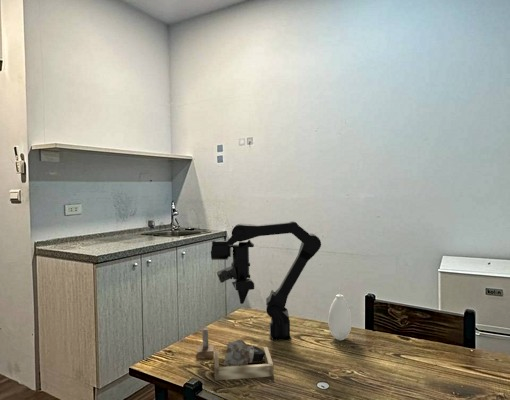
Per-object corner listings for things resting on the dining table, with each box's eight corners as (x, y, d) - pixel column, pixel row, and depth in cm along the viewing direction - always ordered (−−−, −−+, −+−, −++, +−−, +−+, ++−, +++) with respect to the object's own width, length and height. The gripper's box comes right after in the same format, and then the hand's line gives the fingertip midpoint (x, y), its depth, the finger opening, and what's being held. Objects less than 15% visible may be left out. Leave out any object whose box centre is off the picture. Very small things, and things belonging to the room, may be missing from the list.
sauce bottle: (354, 337, 126) (354, 286, 126) (347, 345, 119) (347, 292, 119) (333, 333, 130) (332, 283, 130) (325, 340, 124) (324, 288, 123)
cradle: (267, 356, 113) (267, 346, 113) (273, 376, 101) (273, 365, 101) (214, 359, 111) (214, 350, 111) (214, 380, 99) (214, 369, 99)
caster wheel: (261, 362, 114) (261, 374, 104) (226, 355, 114) (223, 365, 104) (265, 341, 115) (266, 350, 105) (230, 333, 115) (228, 342, 105)
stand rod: (213, 350, 117) (213, 326, 117) (213, 357, 112) (213, 332, 112) (198, 351, 117) (197, 326, 117) (197, 358, 112) (196, 333, 112)
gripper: (216, 256, 135) (216, 297, 135) (220, 266, 117) (221, 314, 117) (245, 254, 137) (246, 295, 137) (254, 264, 119) (255, 311, 119)
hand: (241, 303), depth 128 cm, fingers closed
